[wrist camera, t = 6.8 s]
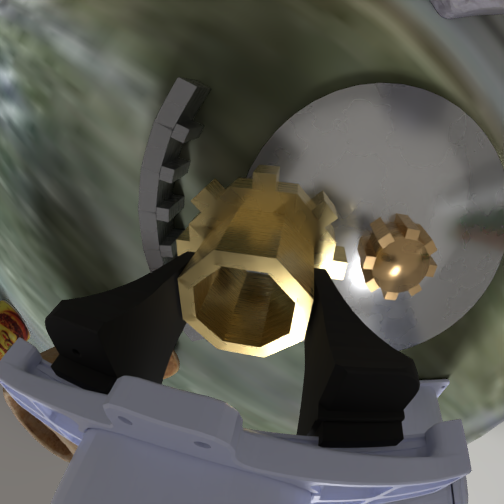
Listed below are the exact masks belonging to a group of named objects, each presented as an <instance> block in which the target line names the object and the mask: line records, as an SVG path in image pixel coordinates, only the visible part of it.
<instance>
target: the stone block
mask: <svg viewBox="0 0 504 504" xmlns="http://www.w3.org/2000/svg"><path fill="white" fill-rule="evenodd" d="M430 2H431V3H432V4H433V6H434V7H435V9H436V11H437V12H438V13H439V15H440V16H442V17H444V18H448V19H453V18H460V17H468V16H478V15H493V14H504V0H430Z"/></svg>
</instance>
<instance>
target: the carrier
mask: <svg viewBox="0 0 504 504" xmlns="http://www.w3.org/2000/svg"><path fill="white" fill-rule="evenodd" d="M210 91H211V88H209V87H207V86H205V85H204V84H202V83H200V82H198V81H196V80H193V79H187V78H182V77H178V78H177V80H176V82H175V83H174V85H173V87H172V89H171V90H170V92H169V94H168V96H167V98H166V99H165V101H164V103H163V105H162V107H161V109H160V111H159V113H158V115H157V117H156V119H155V121H154V123H153V127H152V130H151V133H150V137H149V140H148V144H147V147H146V151H145V154H144V158H143V162H142V166H141V175H140V188H139V205H138V212H139V221H140V229H141V236H142V243H143V250H144V253H145V256H146V260H147V263H148V266H149V269H150V272H152V271H154V270H156V269H158V268H160V267H161V266H163V265H165V264H166V263H168V262H170V261H171V260H173V259H175V258H176V257H178V253H177V242H176V239H177V238H178V237H179V236H180V235H181V234H182V232H183V231H184V230H185V229H174V221H173V217H174V216H175V215H176V214H177V213H178V212H180V211H181V210H182V209H183V208H184V196H181V195H175V194H173V188H174V182H175V181H176V180H178V179H179V178H181V177H182V176H184V175H185V174H187V173H188V169H189V165H190V161H189V160H186V159H183V158H179V155H180V152H181V149H182V146H183V143H185V142H188V141H191V140H193V139H196V138H199V136H200V134H201V132H202V130H203V128H204V125H202V124H200V123H198V122H196V121H193V119H194V117H195V115H196V114H197V112H198V110H199V109H200V107H201V105H202V104H203V102H204V100H205V99H206V97H207V95H208V94H209V92H210ZM258 165H269V166H279V167H280V173H279V182H286V183H294V184H299V185H300V187H301V188H302V189H303V190H304V191H305V193H306V194H307V195H308V196H309V198H310V199H311V198H313V197H314V196H315V195H317V194H318V193H320V192H321V191H322V190H323V191H324V192H325V194H326V195H327V196H328V197H329V199H330V200H331V201H332V203H333V204H334V205H335V208H336V212H337V216H338V219H336V220H335V221H334V222H332V223H331V226H332V227H333V228H334V233H335V239H336V246H342V247H344V248H345V253H346V258H347V267H346V270H345V274H344V278H343V280H340V279H332V278H331V279H332V281H333V282H334V284H335V286H336V287H337V289H338V290H339V292H340V294H341V295H342V297H343V298H344V300H345V301H346V302H347V304H348V305H349V306H350V308H351V309H352V310H353V312H354V313H355V314H356V315H357V316H358V317H359V318H360V319H361V320H362V322H363V323H364V324H365V325H366V326H367V327H368V328H369V329H371V330H372V331H373V332H374V333H375V334H376V335H377V336H378V337H380V338H381V339H382V340H383V341H385V342H386V343H387V344H389V345H390V346H392V347H393V348H394V349H396V350H397V351H400V350H403V349H406V348H410V347H413V346H415V345H418V344H420V343H422V342H425V341H427V340H429V339H431V338H433V337H435V336H436V335H438V334H440V333H441V332H443V331H444V330H446V329H447V328H449V327H450V326H452V325H453V324H454V323H455V322H457V321H458V320H459V319H460V318H461V317H463V316H464V315H465V314H466V313H467V312H468V311H469V310H470V309H471V308H472V307H473V306H474V304H475V303H476V302H477V301H478V300H479V298H480V297H481V296H482V294H483V293H484V292H485V290H486V289H487V287H488V285H489V284H490V282H491V281H492V279H493V277H494V275H495V273H496V271H497V269H498V267H499V264H500V262H501V259H502V256H503V253H504V169H503V166H502V164H501V162H500V159H499V157H498V155H497V152H496V150H495V149H494V147H493V145H492V144H491V142H490V140H489V139H488V137H487V136H486V134H485V133H484V132H483V131H482V129H481V128H480V127H479V126H478V125H477V123H476V122H475V121H474V120H473V119H472V118H471V117H470V116H468V115H467V114H466V113H465V112H464V111H463V110H461V109H460V108H459V107H458V106H456V105H454V104H453V103H451V102H450V101H448V100H446V99H445V98H443V97H441V96H439V95H437V94H434V93H432V92H429V91H427V90H424V89H421V88H417V87H413V86H408V85H404V84H393V83H373V84H364V85H356V86H353V87H349V88H345V89H342V90H338V91H335V92H333V93H331V94H328V95H326V96H324V97H322V98H320V99H318V100H315V101H313V102H312V103H310V104H309V105H307V106H306V107H304V108H303V109H301V110H300V111H298V112H297V113H295V114H294V115H293V116H292V117H291V118H290V119H288V120H287V121H286V122H285V123H284V124H283V125H282V126H281V127H280V128H279V129H278V130H276V132H275V133H274V134H273V135H272V137H271V138H270V139H269V140H268V141H267V143H266V144H265V145H264V146H263V148H262V149H261V151H260V152H259V154H258V156H257V157H256V159H255V161H254V163H253V164H252V166H251V168H250V170H249V172H248V175H247V177H246V178H249V179H253V172H254V170H255V169H256V168H257V167H258ZM246 271H247V272H252V273H259V274H266V275H269V274H268V273H264V272H257V271H250V270H246ZM183 331H184V332H185V333H186V334H187V336H188V337H189V338H190V339H191V340H192V341H196V340H200V339H205V338H204V337H203V336H202V335H201V334H199V333H198V332H197V331H196V330H195V329H194V328H192V327H191V326H190V325H189V324H188V323H186V325H185V327H184V329H183ZM302 341H303V342H304V340H302Z"/></svg>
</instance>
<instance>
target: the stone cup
mask: <svg viewBox="0 0 504 504" xmlns="http://www.w3.org/2000/svg"><path fill="white" fill-rule="evenodd" d="M40 354H41V356H42V359H44V360H46V361H48V362H50V363H51V364H53V362H54V361H55V360H56V358H57V357H58V355H59V353H58V351H57V349H56V347H53V348H51V349H49V350H46V351H44V352H42V353H40ZM179 365H180V363H179V359H178V356H177V354H176V353H175V351H174V349H173V352H172V355H171V357H170V360H169V363H168V366H167V369H166V371H165V374H164V377H163V379H165V378H168V377H170V376H172V375H174V374H175V373H176V372H178V370H179ZM3 394H4V398H5V400H6V402H7V404H8V406H10V408H11V410H12V412H13V414H14V415H15V417H16V418H17V419H18V421H19V422H20V423H21V424H22V425H23V427H24V428H25V429H27V431H28V432H29V433H30V434H31V435H32V436H33V437H34V438H35V439H36V440H37V441H38V442H39V443H40V444H41V445H43V446H44V447H45V448H46V449H47V450H49V451H50V452H52V453H53V454H55V455H56V456H58V457H60V458H61V459H63V460H64V461H67V462H69V463H70V461H71V459H72V457H73V455H74V453H75V451H76V449H77V447H78V446H77V445H76V444H74V443H72V442H71V441H69V440H68V439H66V438H65V437H63V436H62V435H60V434H59V433H57V432H56V431H54V430H53V429H51V428H50V427H49V426H47V425H46V424H44V423H43V422H42V421H40V420H39V419H38V418H36V417H35V416H33V415H32V414H31V413H29V412H28V411H27V410H25V409H24V408H23V407H21V406H20V405H19V404H18V403H17V402H16V401H15V400H14V399H13V398H12V397H11V395H10V394H9V393H8V392H7V391H6V390H5V388H4V387H3Z"/></svg>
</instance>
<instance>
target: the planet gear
mask: <svg viewBox="0 0 504 504" xmlns="http://www.w3.org/2000/svg"><path fill="white" fill-rule="evenodd" d="M279 173H280V167H279V166H269V165H258V167H257V168H256V169H255V170H254V172H253V179H249V178H238V179H237V180H236V181H234V182H233V183H232V184H231V185H230V186H229V187H227V188H226V189H225V188H224V187H223V186H222V185H221V184H220V183H219V182H218V181H217V180H216V179H214V180H213V181H212V182H211V183H210V184H208V185H207V186H206V187H205V188H204V189H203V190H202V191H201V192H200V193H199V194H198V195H196V196H195V197H194V198H193V199H192V200H191V202H192V203H193V204H194V205H195V206H196V207H197V208H198V209H199V210H200V212H199V213H198V215H197V216H196V217H195V218H194V219H193V220H192V221H191V222H190V223H189V227H187V228H186V229H185V230H184V231H183V232H182V234H181V235H180V236H179V237H178V238H177V239H176V242H177V253H178V256H180V255H181V254H183V253H185V252H187V251H190V252H195V254H194V255H193V257H192V258H191V260H190V261H189V263H188V264H187V266H186V267H185V268H184V270H183V271H182V273H181V274H180V276H179V277H178V286H179V294H180V302H181V309H182V316H183V320H185V321H186V322H187V323H188V324H189V325H190V326H191V327H192V328H194V329H195V330H196V331H197V332H198V333H199V334H201V335H202V336H203V337H204V338H205V339H206V340H208V341H209V342H210V343H211V344H212V345H214V346H215V347H216V348H217V349H221V350H226V351H231V352H237V353H242V354H248V355H254V356H260V357H266V356H268V355H271V354H273V353H275V352H278V351H280V350H282V349H285V348H287V347H289V346H291V345H293V344H296V343H298V342H300V341H302V340H304V337H305V333H306V329H307V325H308V321H309V317H310V313H311V309H312V305H313V300H314V268H320V269H326V270H327V272H328V273H329V275H330V277H331V278H332V279H340V280H343V278H344V274H345V270H346V267H347V258H346V253H345V248H344V247H342V246H336V239H335V233H334V228H333V227H332V226H331V223H332V222H334V221H335V220H336V219H338V216H337V212H336V208H335V205H334V204H333V203H332V201H331V200H330V199H329V197H328V196H327V195H326V194H325V192H324V191H323V190H322V191H321V192H320V193H318V194H317V195H315V196H314V197H313V198H311V199H310V198H309V196H308V195H307V194H306V193H305V191H304V190H303V189H302V188H301V187H300V185H299V184H294V183H286V182H279ZM246 270H250V271H257V272H264V273H268V274H269V275H266V274H259V273H252V272H247V271H246Z"/></svg>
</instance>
